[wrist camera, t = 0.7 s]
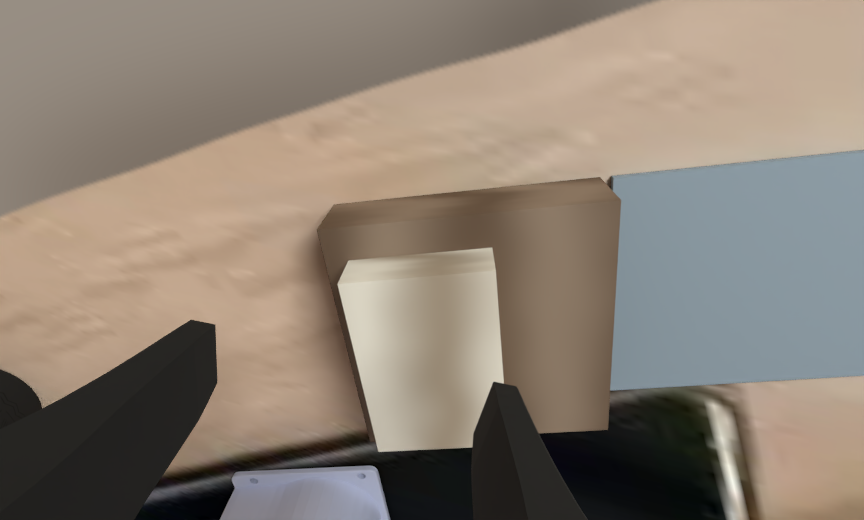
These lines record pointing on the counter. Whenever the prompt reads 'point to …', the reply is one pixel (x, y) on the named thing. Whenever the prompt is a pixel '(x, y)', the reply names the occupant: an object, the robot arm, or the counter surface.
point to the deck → (513, 281)
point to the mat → (740, 273)
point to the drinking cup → (15, 399)
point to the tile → (424, 344)
